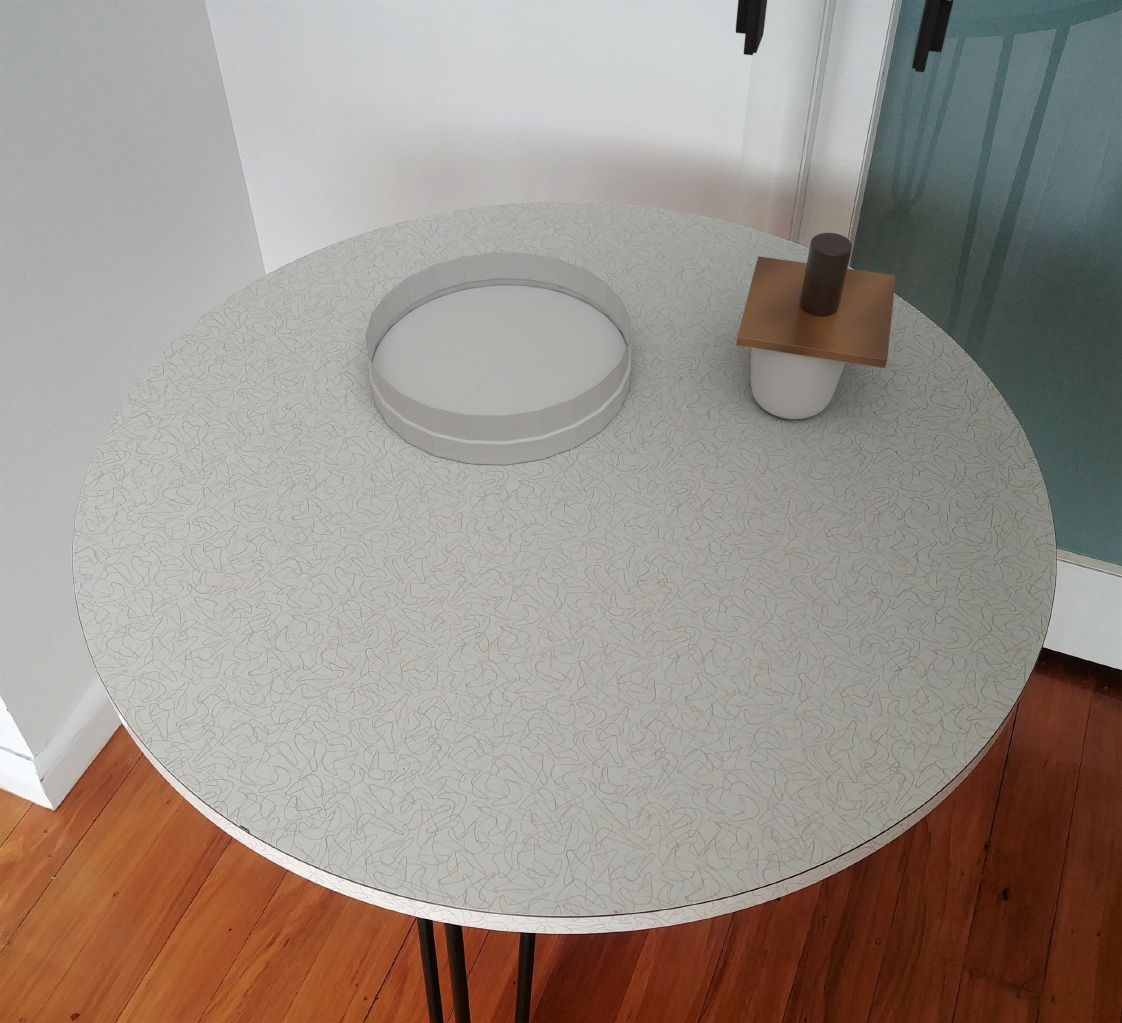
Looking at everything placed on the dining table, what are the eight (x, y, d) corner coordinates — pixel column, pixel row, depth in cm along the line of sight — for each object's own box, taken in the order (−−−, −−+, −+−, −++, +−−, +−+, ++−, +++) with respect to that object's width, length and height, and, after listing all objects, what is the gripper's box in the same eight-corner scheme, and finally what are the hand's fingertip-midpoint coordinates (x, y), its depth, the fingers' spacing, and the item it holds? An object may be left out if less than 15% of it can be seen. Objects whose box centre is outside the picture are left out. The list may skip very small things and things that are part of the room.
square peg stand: (893, 283, 85) (911, 214, 80) (885, 368, 78) (904, 297, 73) (756, 264, 87) (766, 195, 83) (736, 345, 80) (745, 274, 75)
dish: (319, 415, 87) (308, 368, 84) (453, 274, 101) (449, 228, 97) (561, 499, 80) (560, 451, 77) (671, 335, 94) (674, 288, 90)
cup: (813, 343, 93) (828, 266, 87) (882, 391, 88) (903, 312, 82) (721, 392, 88) (731, 314, 83) (789, 445, 84) (804, 366, 78)
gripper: (697, -299, 49) (676, 66, 62) (1094, -288, 46) (987, 98, 58) (726, -329, 54) (701, 15, 66) (1086, -321, 50) (989, 41, 63)
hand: (834, 53), depth 62 cm, fingers open, 9 cm apart
